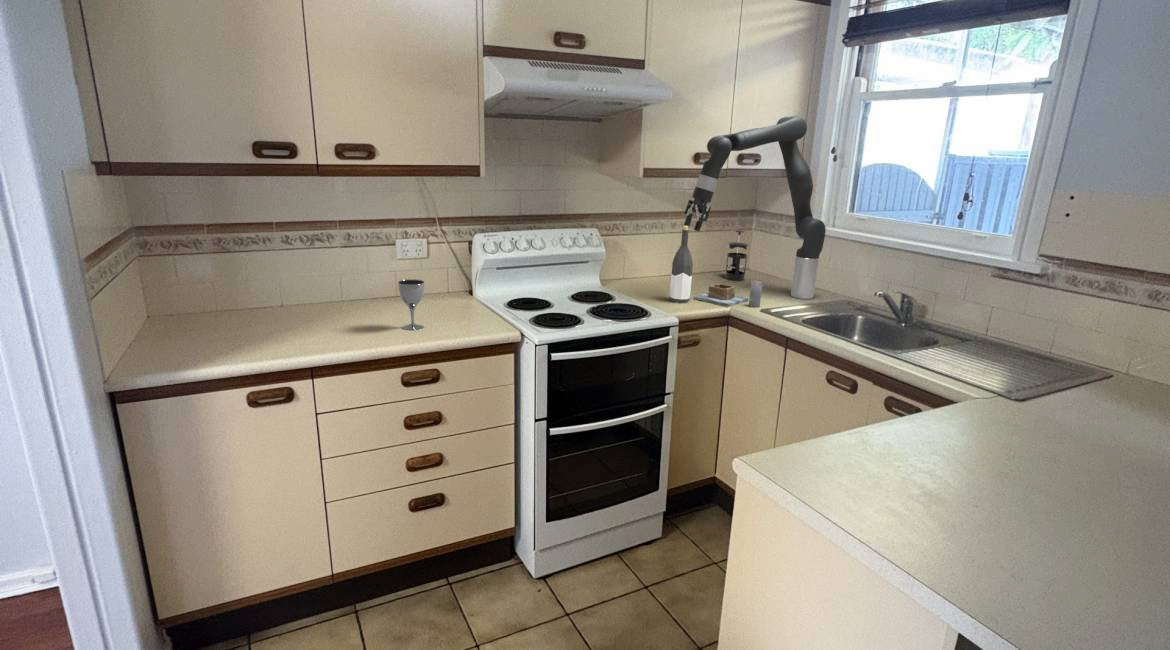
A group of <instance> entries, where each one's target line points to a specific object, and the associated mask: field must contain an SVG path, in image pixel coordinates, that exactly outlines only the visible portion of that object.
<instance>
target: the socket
mask: <svg viewBox="0 0 1170 650" xmlns="http://www.w3.org/2000/svg"><path fill="white" fill-rule="evenodd" d="M695 299H697V300H696V301H699V300H701V301H700V302H704V301H705V303H708V302H709V303H708V304H712V303H713V305H717V304H718V306H721V305H722V307H725V306H727V307H726V308H729V306H730V307H733V306H736V305H740V304H743V303H745V302H746V303H747V302H749V297H745V296H740V295H736V286H735V285H728V284H725V283H714V284H711V285H709V286H708V292H705V293H701V294H697V295H693V300H695ZM739 303H740V304H739ZM732 305H733V306H732Z"/></svg>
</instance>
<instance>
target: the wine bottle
mask: <svg viewBox="0 0 1170 650" xmlns="http://www.w3.org/2000/svg"><path fill="white" fill-rule="evenodd" d="M689 227H690V226H684V225H683V226H682V230H681V241H680V246H679V248H678V250H677V251H676V253H675V255H674V257H673V261H672V264H671V278H670V288H669V289H670V290H669V301H670V302H672V303H676V302H679V303H678V304H686V303H685V302H688V301H689V302H690V300H691V299H690V298H691V292H692V291H691V288H692V278H693V270H694V269H693V266H694V263H693V257H692V254H691V253H692V252H691V251H690V249H689V246H688V242H689V241H688V240H689V232H690V229H689ZM689 302H688V303H689Z"/></svg>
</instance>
